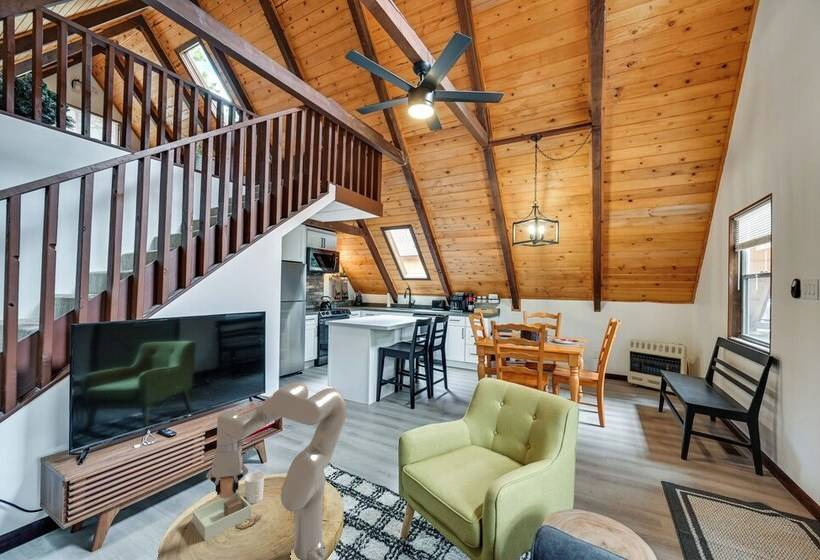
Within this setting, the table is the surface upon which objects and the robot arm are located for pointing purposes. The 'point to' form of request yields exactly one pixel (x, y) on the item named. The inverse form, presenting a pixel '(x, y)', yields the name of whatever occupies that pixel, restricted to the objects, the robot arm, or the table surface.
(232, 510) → the cube
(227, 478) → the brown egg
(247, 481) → the white cup
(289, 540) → the table surface
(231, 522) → the tote
